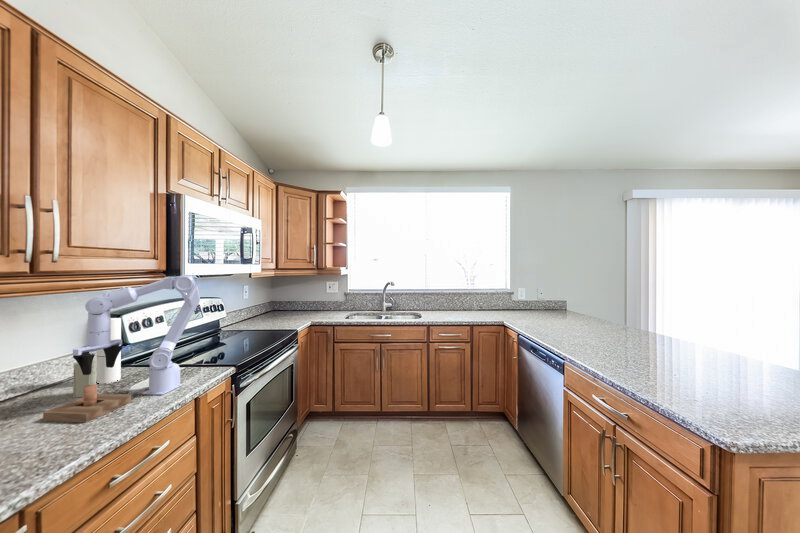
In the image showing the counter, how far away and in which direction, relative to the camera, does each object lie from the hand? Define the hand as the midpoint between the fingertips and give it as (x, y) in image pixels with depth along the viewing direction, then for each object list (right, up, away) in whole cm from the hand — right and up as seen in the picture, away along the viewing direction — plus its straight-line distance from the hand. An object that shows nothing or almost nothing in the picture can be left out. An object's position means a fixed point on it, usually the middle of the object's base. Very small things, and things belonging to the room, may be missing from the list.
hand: (98, 370), depth 106 cm
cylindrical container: (-15, -11, +19) cm, 26 cm away
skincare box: (-11, -11, +6) cm, 16 cm away
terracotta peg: (+5, -10, -7) cm, 13 cm away
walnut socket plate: (+5, -10, -7) cm, 13 cm away
